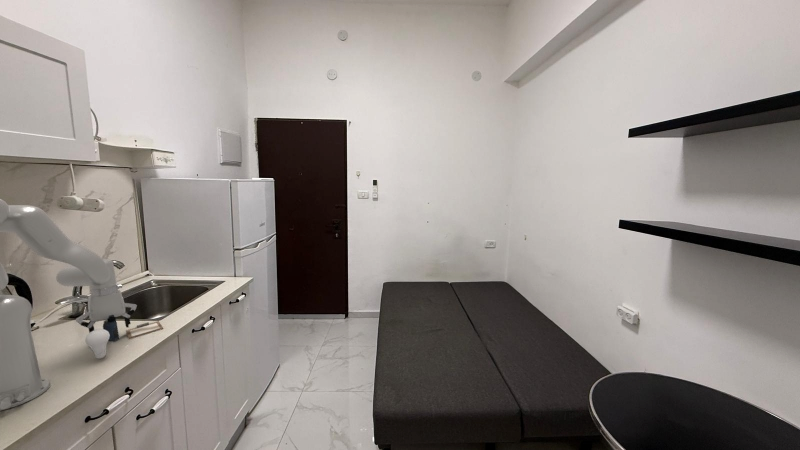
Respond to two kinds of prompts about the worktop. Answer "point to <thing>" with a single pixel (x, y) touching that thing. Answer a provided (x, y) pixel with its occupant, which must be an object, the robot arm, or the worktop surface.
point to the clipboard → (143, 329)
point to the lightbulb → (98, 342)
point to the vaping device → (111, 328)
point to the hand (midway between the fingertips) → (111, 331)
